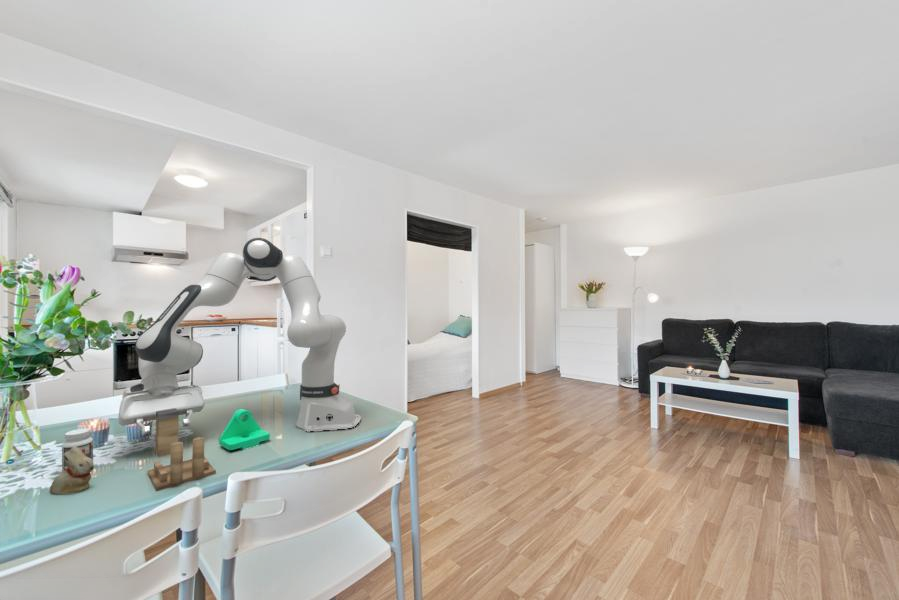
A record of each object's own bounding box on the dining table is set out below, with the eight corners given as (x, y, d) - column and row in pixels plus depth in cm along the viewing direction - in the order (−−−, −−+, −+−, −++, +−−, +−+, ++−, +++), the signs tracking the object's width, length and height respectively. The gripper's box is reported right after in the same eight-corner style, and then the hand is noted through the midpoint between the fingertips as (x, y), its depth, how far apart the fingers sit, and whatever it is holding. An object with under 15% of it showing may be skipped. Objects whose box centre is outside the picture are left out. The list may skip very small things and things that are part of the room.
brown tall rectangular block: (155, 452, 106) (155, 411, 106) (174, 448, 109) (175, 407, 109) (158, 457, 103) (159, 414, 103) (178, 452, 106) (178, 411, 106)
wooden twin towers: (147, 473, 93) (148, 435, 93) (202, 459, 102) (203, 424, 102) (157, 492, 85) (157, 450, 85) (216, 474, 93) (217, 436, 93)
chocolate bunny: (64, 499, 81) (65, 454, 81) (46, 491, 84) (46, 448, 84) (96, 487, 86) (96, 444, 86) (77, 480, 89) (78, 439, 89)
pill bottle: (98, 466, 97) (99, 428, 97) (71, 476, 92) (71, 436, 92) (83, 463, 99) (84, 426, 99) (55, 473, 93) (56, 434, 93)
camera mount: (229, 454, 106) (230, 418, 106) (218, 447, 111) (219, 413, 111) (270, 442, 115) (271, 409, 115) (259, 436, 120) (259, 404, 120)
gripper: (198, 389, 122) (206, 426, 115) (115, 401, 107) (119, 444, 100) (202, 378, 119) (210, 415, 112) (117, 389, 104) (121, 432, 97)
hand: (167, 429), depth 106 cm, fingers open, 8 cm apart
